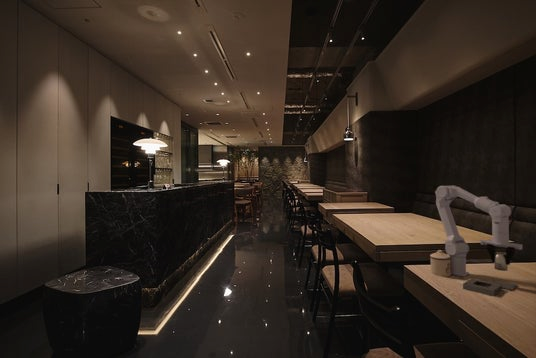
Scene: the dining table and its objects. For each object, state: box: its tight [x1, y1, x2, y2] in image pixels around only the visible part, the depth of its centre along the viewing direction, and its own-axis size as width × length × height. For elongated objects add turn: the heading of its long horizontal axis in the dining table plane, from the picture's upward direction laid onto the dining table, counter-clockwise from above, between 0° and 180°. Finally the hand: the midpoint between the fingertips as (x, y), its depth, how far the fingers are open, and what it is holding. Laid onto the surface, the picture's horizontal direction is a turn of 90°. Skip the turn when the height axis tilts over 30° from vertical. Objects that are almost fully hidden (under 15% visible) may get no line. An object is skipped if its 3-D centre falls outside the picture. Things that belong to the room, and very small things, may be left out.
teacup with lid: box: [429, 249, 452, 277], centre depth 151 cm, size 12×9×12 cm
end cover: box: [493, 251, 509, 272], centre depth 132 cm, size 5×5×7 cm
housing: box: [462, 277, 503, 297], centre depth 128 cm, size 11×11×2 cm
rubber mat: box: [489, 279, 518, 292], centre depth 132 cm, size 9×9×1 cm
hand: (500, 263), depth 132 cm, fingers closed on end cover, 5 cm apart
